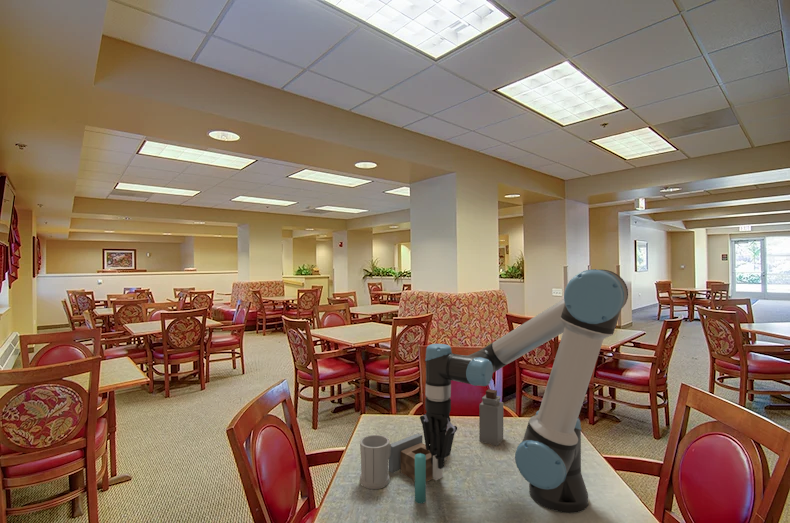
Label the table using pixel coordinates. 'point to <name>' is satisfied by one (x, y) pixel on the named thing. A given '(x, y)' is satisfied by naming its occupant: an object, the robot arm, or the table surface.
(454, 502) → the table surface
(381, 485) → the cup
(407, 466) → the block
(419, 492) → the dowel
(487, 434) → the perfume bottle
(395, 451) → the wall
